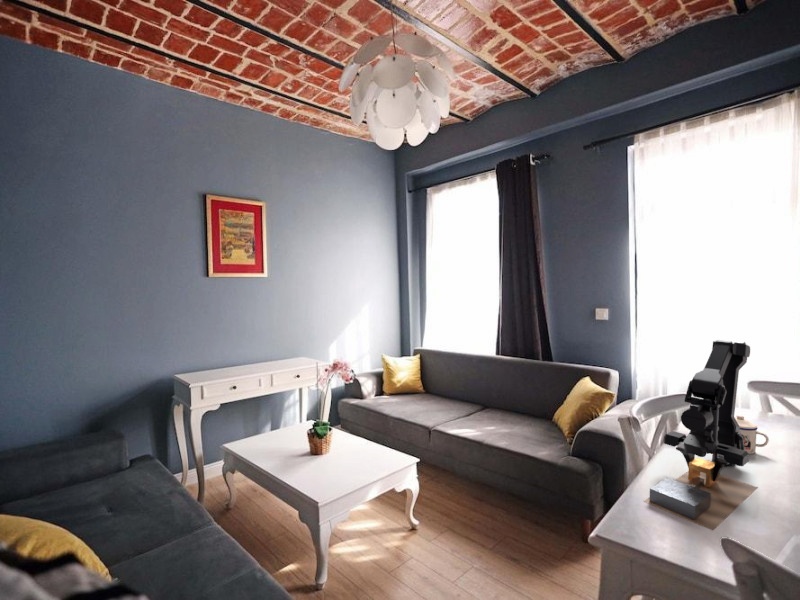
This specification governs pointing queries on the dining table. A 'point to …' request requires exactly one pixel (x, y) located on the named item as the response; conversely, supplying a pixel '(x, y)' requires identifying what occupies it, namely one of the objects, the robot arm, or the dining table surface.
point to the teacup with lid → (749, 434)
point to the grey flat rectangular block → (681, 497)
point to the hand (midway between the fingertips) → (702, 477)
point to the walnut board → (717, 499)
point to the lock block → (701, 470)
